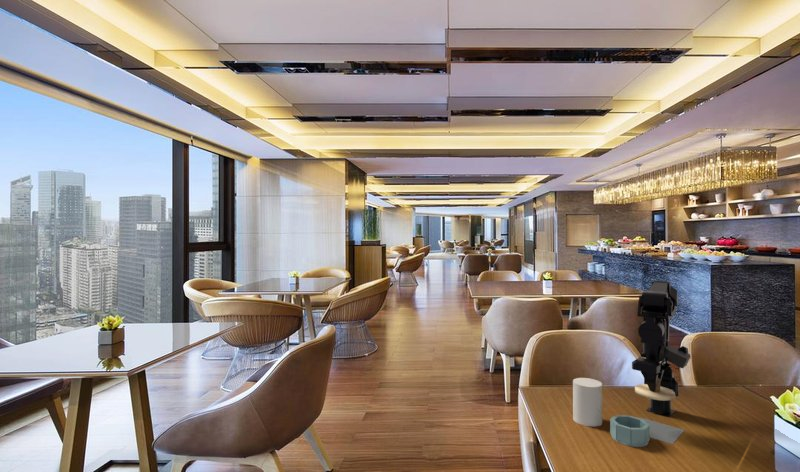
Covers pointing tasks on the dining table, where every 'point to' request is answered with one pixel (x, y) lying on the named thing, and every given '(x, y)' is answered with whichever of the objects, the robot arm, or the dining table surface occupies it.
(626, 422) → the grooved blue cylinder
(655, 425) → the mat
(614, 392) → the dining table surface
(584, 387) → the white cylinder
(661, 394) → the lid
